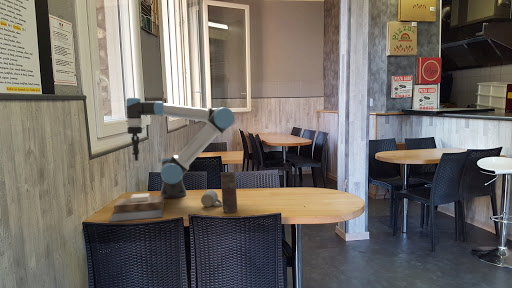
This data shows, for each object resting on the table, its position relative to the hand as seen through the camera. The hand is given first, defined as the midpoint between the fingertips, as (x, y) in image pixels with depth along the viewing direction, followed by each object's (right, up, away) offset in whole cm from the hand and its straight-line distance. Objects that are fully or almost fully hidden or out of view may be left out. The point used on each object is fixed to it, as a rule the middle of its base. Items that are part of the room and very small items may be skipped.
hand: (136, 164), depth 200 cm
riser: (+4, -22, -7) cm, 24 cm away
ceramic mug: (+42, -22, -6) cm, 48 cm away
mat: (+8, -24, -22) cm, 33 cm away
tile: (+4, -18, -5) cm, 19 cm away
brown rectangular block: (+53, -22, -18) cm, 60 cm away
